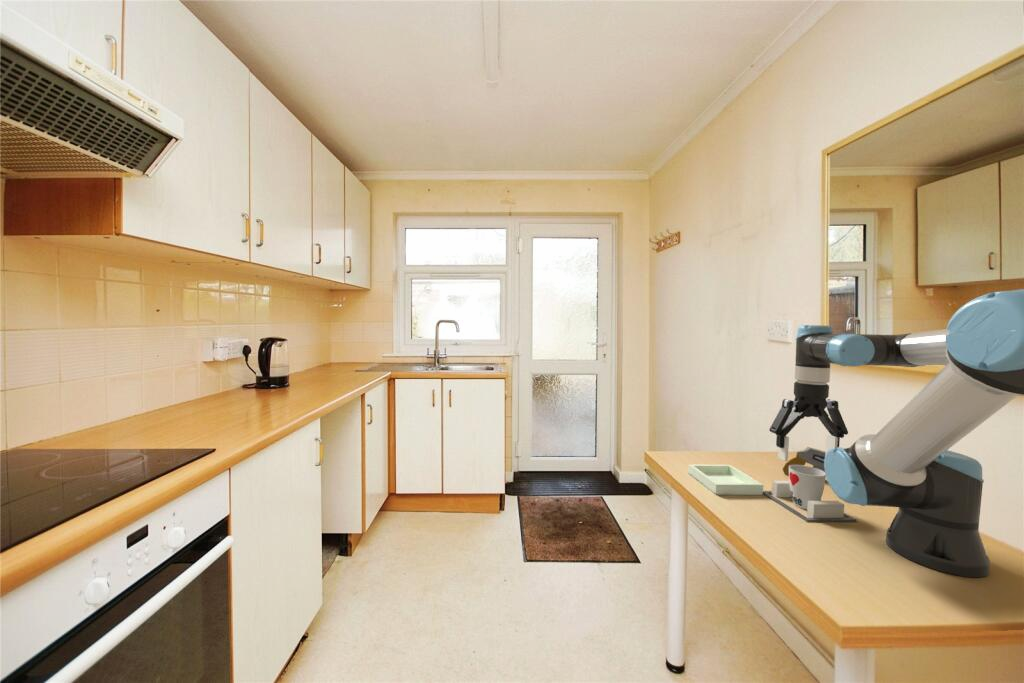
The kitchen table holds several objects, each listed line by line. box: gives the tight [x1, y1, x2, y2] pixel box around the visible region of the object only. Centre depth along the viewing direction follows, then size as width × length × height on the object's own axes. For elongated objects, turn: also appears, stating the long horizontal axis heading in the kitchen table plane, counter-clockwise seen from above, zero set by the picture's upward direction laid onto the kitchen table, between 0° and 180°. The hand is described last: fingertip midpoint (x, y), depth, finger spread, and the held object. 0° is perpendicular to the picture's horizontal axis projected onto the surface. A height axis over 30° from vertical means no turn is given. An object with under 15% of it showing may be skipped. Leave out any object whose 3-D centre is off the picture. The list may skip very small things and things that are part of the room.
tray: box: [688, 464, 764, 496], centre depth 121 cm, size 16×14×3 cm
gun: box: [782, 446, 826, 477], centre depth 125 cm, size 3×25×15 cm, turn 69°
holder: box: [763, 480, 857, 523], centre depth 107 cm, size 17×13×4 cm
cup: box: [788, 465, 827, 511], centre depth 107 cm, size 8×8×10 cm
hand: (806, 459), depth 107 cm, fingers open, 13 cm apart
